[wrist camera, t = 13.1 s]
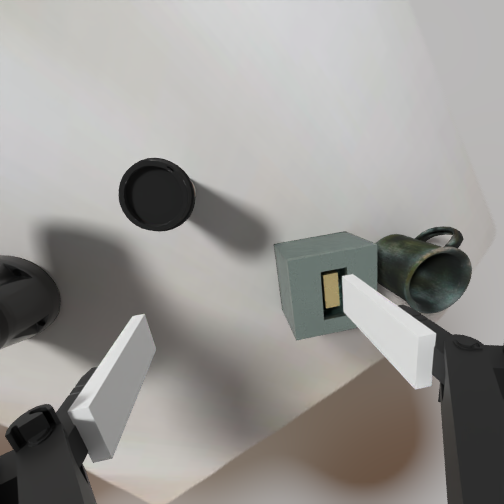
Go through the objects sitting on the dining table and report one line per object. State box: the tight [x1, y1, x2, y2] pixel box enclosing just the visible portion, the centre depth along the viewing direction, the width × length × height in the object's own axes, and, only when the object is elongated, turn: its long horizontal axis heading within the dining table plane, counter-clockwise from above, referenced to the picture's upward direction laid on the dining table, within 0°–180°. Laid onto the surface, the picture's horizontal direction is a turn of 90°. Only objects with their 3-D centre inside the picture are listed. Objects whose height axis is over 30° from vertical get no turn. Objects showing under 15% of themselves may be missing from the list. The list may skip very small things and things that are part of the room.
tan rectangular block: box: [321, 270, 340, 308], centre depth 43 cm, size 2×6×8 cm, turn 10°
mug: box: [376, 227, 472, 313], centre depth 42 cm, size 11×15×12 cm
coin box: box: [274, 232, 377, 340], centre depth 43 cm, size 14×14×10 cm
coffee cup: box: [119, 158, 196, 231], centre depth 33 cm, size 8×8×15 cm
